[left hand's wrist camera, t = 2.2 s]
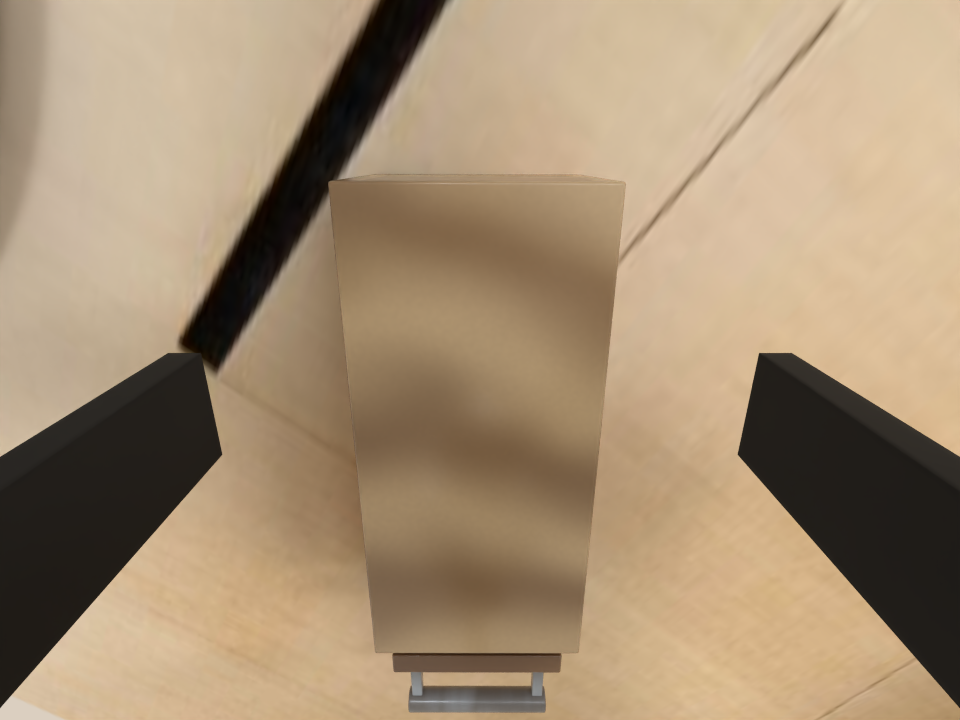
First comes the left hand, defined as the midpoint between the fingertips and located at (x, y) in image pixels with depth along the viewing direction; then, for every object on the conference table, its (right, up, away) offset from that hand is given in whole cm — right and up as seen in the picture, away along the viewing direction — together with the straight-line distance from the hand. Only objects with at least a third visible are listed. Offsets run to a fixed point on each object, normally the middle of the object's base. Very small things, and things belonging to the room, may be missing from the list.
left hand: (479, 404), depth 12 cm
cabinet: (0, 0, +16) cm, 16 cm away
